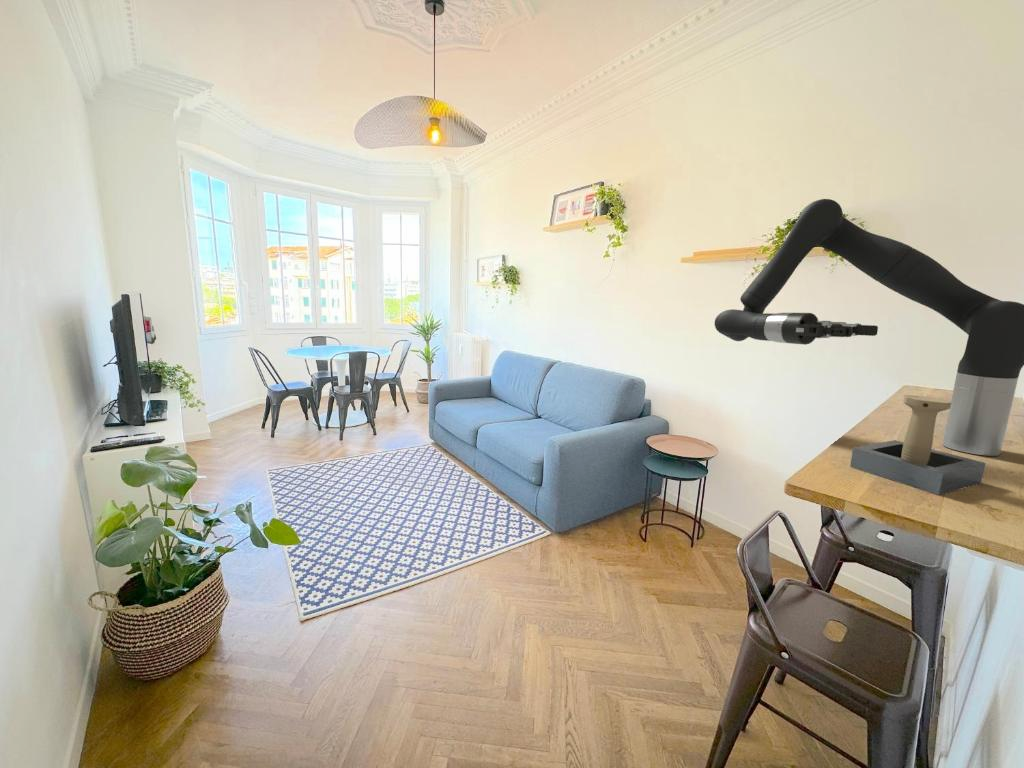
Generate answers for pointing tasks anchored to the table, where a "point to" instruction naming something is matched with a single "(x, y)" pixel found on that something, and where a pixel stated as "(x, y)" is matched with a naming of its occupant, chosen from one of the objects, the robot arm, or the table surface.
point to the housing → (918, 468)
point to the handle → (921, 427)
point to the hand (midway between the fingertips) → (864, 331)
